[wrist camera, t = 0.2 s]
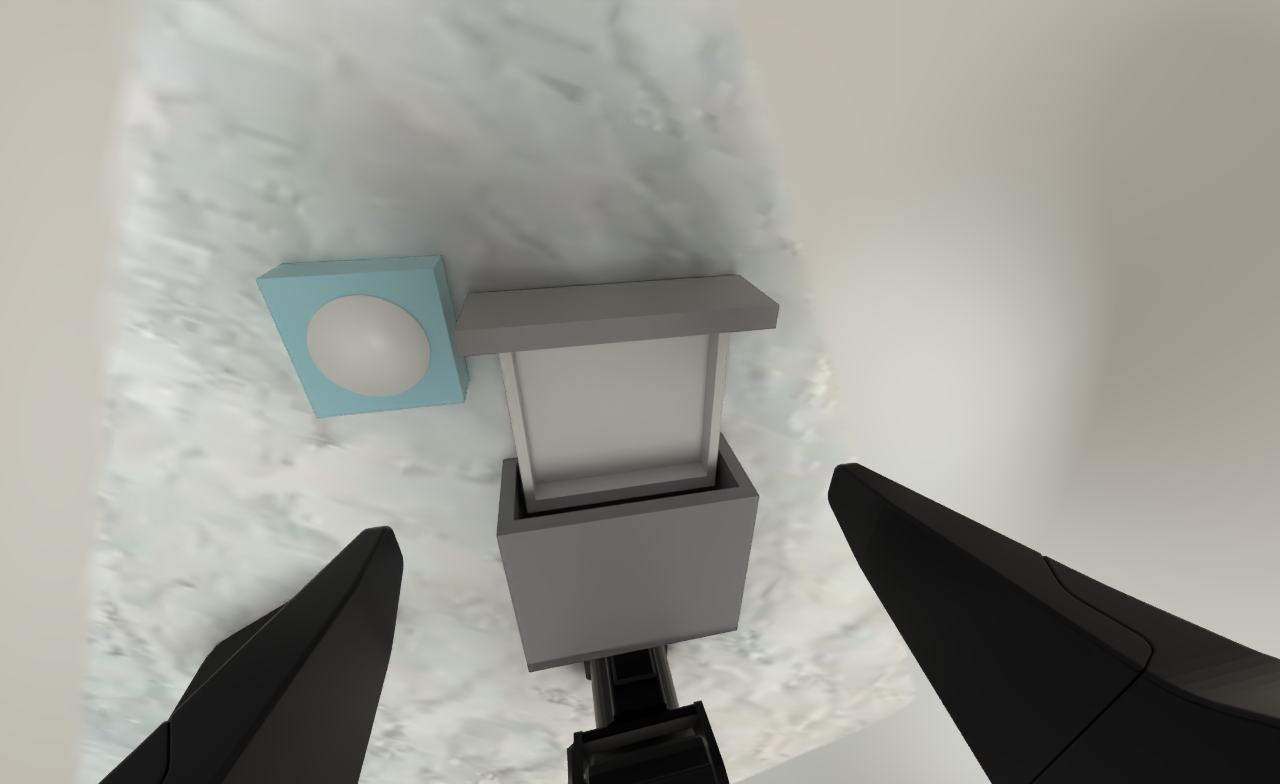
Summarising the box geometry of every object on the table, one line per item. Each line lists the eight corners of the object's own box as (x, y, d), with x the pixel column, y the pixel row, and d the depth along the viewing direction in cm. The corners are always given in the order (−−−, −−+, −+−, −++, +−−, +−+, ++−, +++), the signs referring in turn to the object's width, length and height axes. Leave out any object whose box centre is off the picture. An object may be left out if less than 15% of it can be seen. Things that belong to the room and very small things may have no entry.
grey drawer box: (708, 558, 33) (736, 630, 28) (529, 589, 31) (529, 672, 26) (721, 432, 27) (759, 495, 22) (503, 459, 25) (496, 536, 20)
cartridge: (470, 376, 23) (464, 404, 20) (336, 390, 22) (315, 420, 19) (442, 253, 20) (431, 269, 17) (285, 261, 18) (253, 280, 16)
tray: (720, 459, 28) (747, 509, 24) (508, 488, 26) (504, 548, 22) (739, 274, 22) (779, 304, 18) (468, 293, 20) (453, 331, 16)
